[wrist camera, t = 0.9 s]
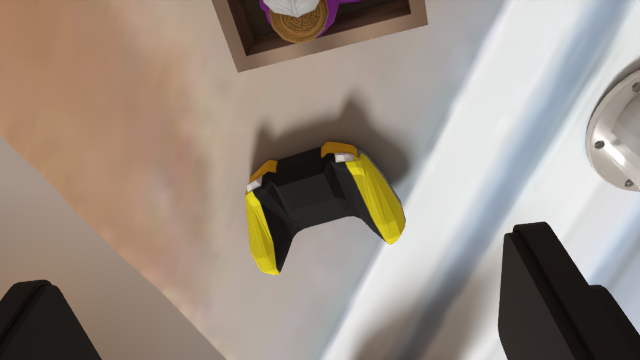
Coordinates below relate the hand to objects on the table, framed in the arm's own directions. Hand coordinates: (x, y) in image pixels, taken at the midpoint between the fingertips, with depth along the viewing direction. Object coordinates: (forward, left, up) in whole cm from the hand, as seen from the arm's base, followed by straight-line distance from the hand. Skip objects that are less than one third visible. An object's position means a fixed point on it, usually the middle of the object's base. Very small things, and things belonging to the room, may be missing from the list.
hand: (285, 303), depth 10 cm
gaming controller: (+5, +17, -32) cm, 37 cm away
